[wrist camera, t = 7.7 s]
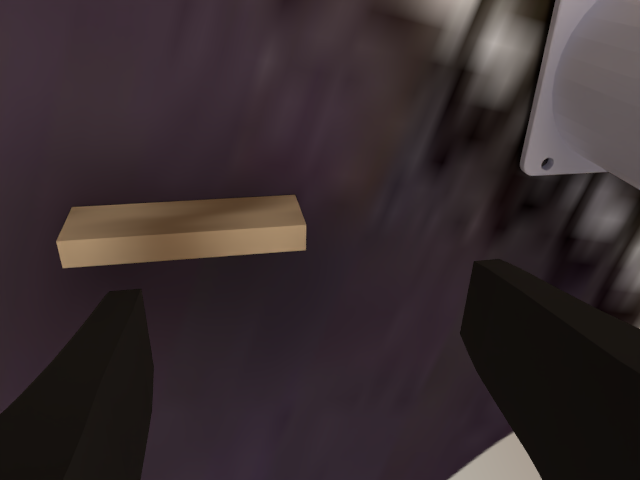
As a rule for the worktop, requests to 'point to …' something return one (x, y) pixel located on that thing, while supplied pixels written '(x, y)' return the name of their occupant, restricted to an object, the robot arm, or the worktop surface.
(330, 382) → the worktop surface
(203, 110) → the worktop surface
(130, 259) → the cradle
